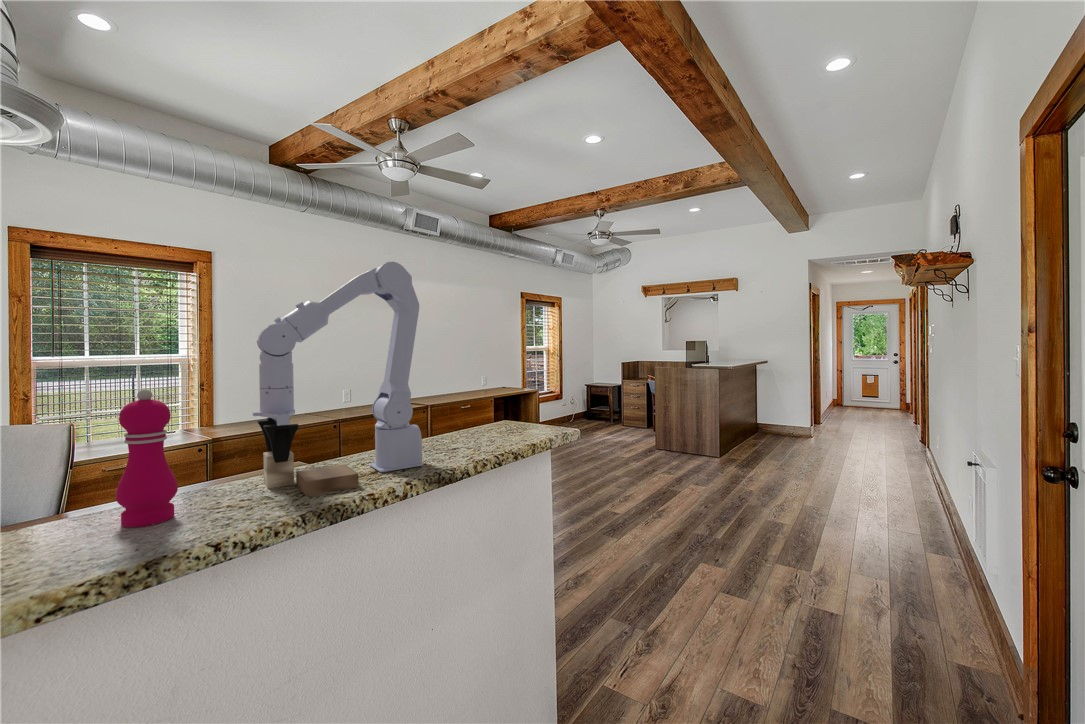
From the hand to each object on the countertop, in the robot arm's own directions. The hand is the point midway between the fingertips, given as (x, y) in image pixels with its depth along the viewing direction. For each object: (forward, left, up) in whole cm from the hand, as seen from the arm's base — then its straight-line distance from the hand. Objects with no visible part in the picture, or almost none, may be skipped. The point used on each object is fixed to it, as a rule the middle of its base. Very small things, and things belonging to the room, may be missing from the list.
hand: (277, 458), depth 92 cm
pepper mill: (+19, +10, -5) cm, 22 cm away
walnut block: (-7, +8, -5) cm, 12 cm away
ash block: (0, 0, -5) cm, 5 cm away
